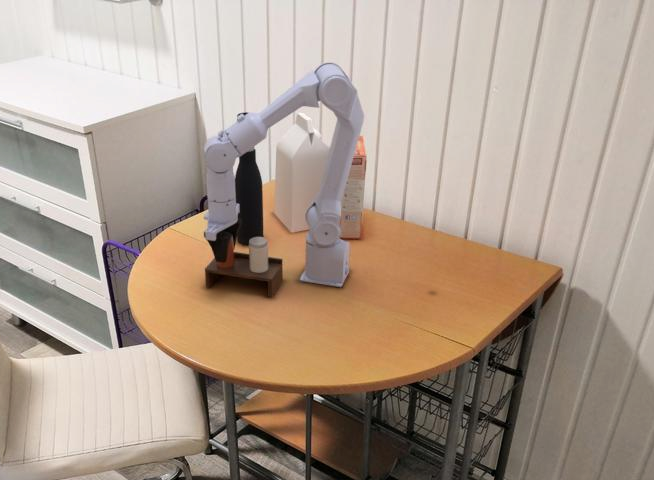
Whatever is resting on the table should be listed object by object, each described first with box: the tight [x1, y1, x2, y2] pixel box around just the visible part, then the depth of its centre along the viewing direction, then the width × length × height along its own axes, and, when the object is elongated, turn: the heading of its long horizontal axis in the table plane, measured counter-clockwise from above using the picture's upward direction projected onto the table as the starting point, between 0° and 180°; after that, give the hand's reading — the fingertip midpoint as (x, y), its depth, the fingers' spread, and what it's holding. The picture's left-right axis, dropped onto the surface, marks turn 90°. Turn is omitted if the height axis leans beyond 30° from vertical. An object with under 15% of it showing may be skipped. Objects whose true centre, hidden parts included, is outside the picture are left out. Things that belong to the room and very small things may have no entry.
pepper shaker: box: [216, 232, 235, 268], centre depth 157 cm, size 4×4×6 cm
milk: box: [273, 112, 330, 233], centre depth 180 cm, size 12×12×26 cm
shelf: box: [204, 251, 284, 299], centre depth 159 cm, size 15×8×6 cm, turn 73°
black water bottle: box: [234, 111, 265, 247], centre depth 169 cm, size 6×6×30 cm
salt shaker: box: [248, 237, 269, 273], centre depth 155 cm, size 4×4×6 cm
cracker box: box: [339, 135, 368, 239], centre depth 178 cm, size 14×6×21 cm, turn 179°
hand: (225, 256), depth 158 cm, fingers closed on pepper shaker, 4 cm apart
